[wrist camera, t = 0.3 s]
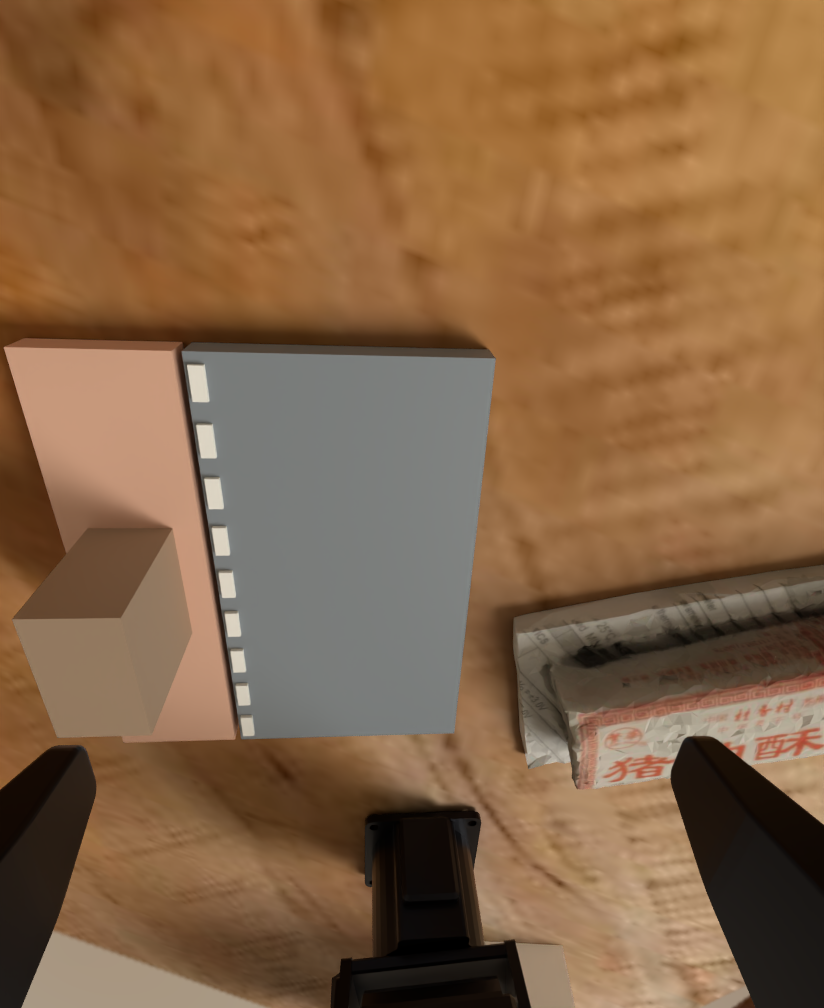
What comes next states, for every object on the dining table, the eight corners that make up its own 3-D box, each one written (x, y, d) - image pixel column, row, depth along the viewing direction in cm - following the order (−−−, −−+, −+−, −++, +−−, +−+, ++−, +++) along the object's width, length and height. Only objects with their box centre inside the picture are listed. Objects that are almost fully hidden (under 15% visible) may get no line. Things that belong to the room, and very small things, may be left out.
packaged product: (1005, 609, 21) (930, 774, 26) (900, 539, 26) (851, 693, 30) (532, 690, 22) (544, 838, 27) (505, 608, 26) (520, 749, 31)
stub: (239, 718, 28) (208, 848, 22) (132, 721, 27) (74, 853, 22) (182, 342, 19) (108, 403, 13) (24, 338, 18) (-119, 399, 13)
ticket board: (450, 712, 28) (454, 736, 27) (246, 718, 28) (240, 742, 26) (488, 349, 20) (496, 359, 18) (191, 342, 19) (180, 352, 18)
